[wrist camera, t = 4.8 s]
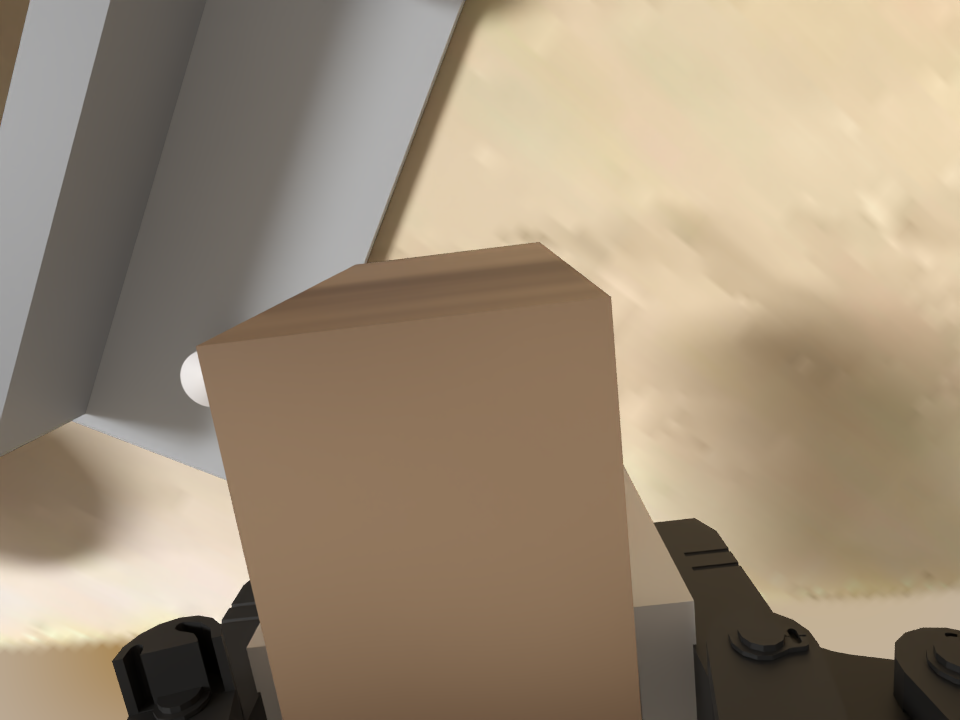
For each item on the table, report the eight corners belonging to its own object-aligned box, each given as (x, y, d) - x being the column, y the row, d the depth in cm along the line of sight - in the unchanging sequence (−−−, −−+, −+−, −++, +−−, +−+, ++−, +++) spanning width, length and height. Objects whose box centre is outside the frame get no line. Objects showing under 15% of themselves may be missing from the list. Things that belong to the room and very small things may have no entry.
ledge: (205, -311, 20) (102, -501, 15) (524, -157, 21) (537, -285, 16) (18, 392, 26) (-109, 440, 20) (280, 492, 27) (226, 565, 21)
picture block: (355, 264, 14) (195, 345, 6) (549, 240, 14) (634, 294, 6) (426, 691, 17) (376, 1124, 9) (590, 675, 16) (685, 1100, 9)
